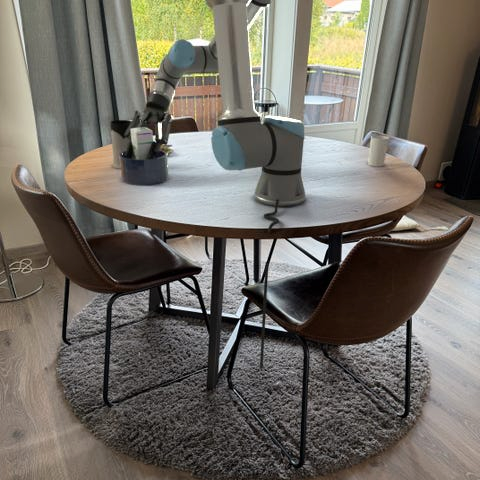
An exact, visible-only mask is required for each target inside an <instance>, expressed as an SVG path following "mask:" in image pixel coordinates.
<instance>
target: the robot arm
mask: <svg viewBox="0 0 480 480" xmlns="http://www.w3.org/2000/svg"><path fill="white" fill-rule="evenodd" d="M272 2H273V0H205V4H206V6H208V8H209V9H210V10H211V11H212V18H213V20H212V21H213V28H214V35H213V36H212V39H211V40H210V42H209V43H208V45H193V44H192V43H191V41H188V40H186V39H185V38H184V39H183V38H182V39H181V38H180V39H178V40H175V42H174V43H173V44H172V46H170V48H169V49H168V52H167V54H165V55H164V56H163V58H162V60H161V61H160V64H159V68H158V71H157V74H156V76H155V78H154V79H155V80H154V82H153V84H152V86H151V88H150V90H149V91H150V92H149V95H148V97H147V100H146V103H145V108H144V109H143V110H142V111H138V110H135V111H134V114H133V118H132V120H130V121H131V123H130V125H129V127H128V129H127V131H126V133H125V137H126V138H127V139H128V142H127V145H126V148H127V150H126V152H125V155H124V156H125V158H130V159H131V157H132V154H133V150H132V140H131V129H132V128H138V127H146V128H148V129H149V127H150V126H154V136H155V137H154V140H153V142H152V145H151V148H150V150H149V153H148V156H147V159H154V157H155V154H157V153H158V151H159V149H160V146H161V145H168V142H169V137H170V133H171V127H172V124H173V122H174V121H175V119H174V117H173V116H172V114H171V113H169V112H170V108H171V106H172V105H171V104H172V102H173V100H174V97H175V94H176V91H177V88H178V86H179V85H180V84H179V83H180V81H181V80H182V78H183V77H184V75H186V73H205V72H206V73H207V72H208V73H210V72H212V73H215V72H216V73H218V79H219V80H218V82H219V91H220V99H221V111H222V112H221V114H220V116H219V117H218V118H217V126H215V127H214V128H213V130H212V132H211V137H210V138H211V139H210V140H211V149H212V152H213V155H214V158H215V160H216V161H217V163H218V164H219V166H220V167H221V168H222V169H224V170H226V171H229V172H230V171H238V172H239V171H244V170H249V169H257V168H258V169H259V168H261V173H260V176H259V179H258V182H257V184H256V187H255V190H254V200H255V201H256V202H258V203H259V204H263V205H266V206H271V207H274V210H273V212H267V213H264V214H263V218H264V219H266V220H270V221H272V222H271V223H270V224H269V226H268V228H267V233H268V234H270V233H272V229H273V227H274V226H275V225H278V224H279V223H280V220H279V218H277V217H275V216H276V214H277V213H278V211H279V209H278V207H295V206H298V205H301V204H304V202H305V200H306V190H305V186H304V182H303V178H302V166H303V165H302V164H303V153H304V143H305V142H304V141H305V139H306V137H305V124H304V123H303V121H301V120H298V119H295V118H289V117H284V116H277V115H265V116H264V117H263V121H261V119H262V117H261V114H259V112H257V110H256V109H255V102H254V101H255V100H254V88H253V74H252V62H251V49H250V36H249V29H250V28H251V26H252V25H253V24H254V21H255V20H256V19H257V18H258V16H259V14H260V13H261V11H262V10H263V9H264V8H267V7H269V6H270V5H271V3H272ZM163 122H164V123H163ZM162 123H163V125H162ZM269 264H270V263H269V262H268V261H267V262H265V266H264V269H265V270H264V281H263V283H264V284H263V300H262V301H263V302H262V321H261V340H260V357H259V358H260V359H259V369H260V370H263V367H264V351H265V333H266V332H265V331H266V315H267V297H268V281H269V267H270V265H269Z"/></svg>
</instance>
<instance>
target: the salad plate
mask: <svg viewBox="0 0 480 480" xmlns="http://www.w3.org/2000/svg"><path fill="white" fill-rule="evenodd" d="M171 147H173V144H167V145H164V144H163V145H161V146H160V149H159V150H162V151H164V152H166V153H167V156H170V155H171V154H172V153H173V152H174V149H172V148H171Z"/></svg>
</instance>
